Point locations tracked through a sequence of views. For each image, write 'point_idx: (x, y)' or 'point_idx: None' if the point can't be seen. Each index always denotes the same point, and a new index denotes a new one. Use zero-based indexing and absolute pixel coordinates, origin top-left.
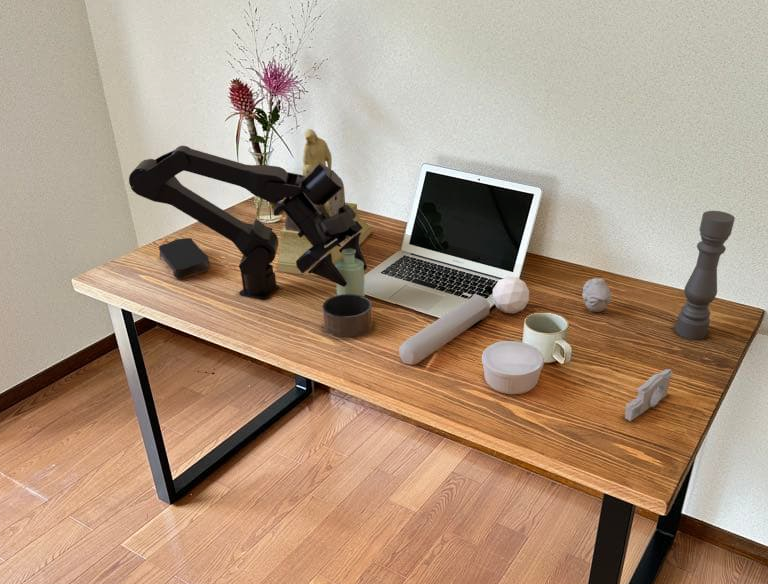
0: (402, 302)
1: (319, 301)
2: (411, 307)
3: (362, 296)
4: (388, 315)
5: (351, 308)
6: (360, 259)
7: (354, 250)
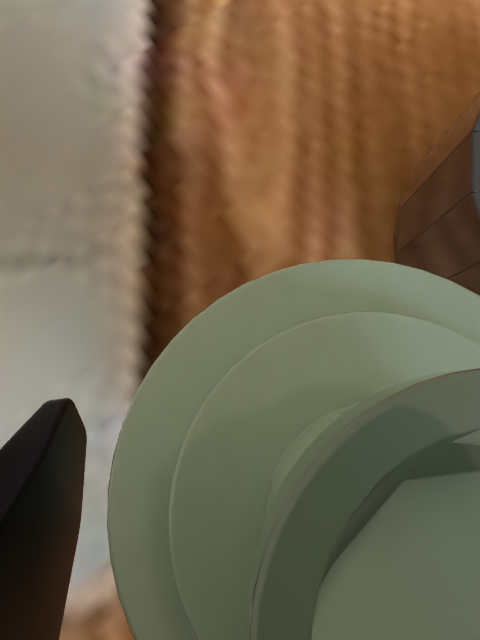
0: (100, 160)
1: None
2: (126, 87)
3: (474, 172)
4: (283, 141)
5: None
6: (19, 520)
7: (344, 499)
